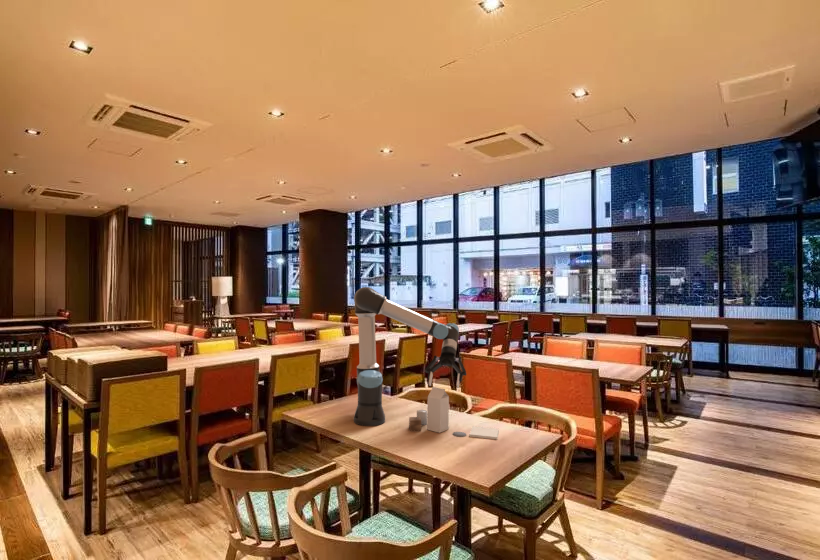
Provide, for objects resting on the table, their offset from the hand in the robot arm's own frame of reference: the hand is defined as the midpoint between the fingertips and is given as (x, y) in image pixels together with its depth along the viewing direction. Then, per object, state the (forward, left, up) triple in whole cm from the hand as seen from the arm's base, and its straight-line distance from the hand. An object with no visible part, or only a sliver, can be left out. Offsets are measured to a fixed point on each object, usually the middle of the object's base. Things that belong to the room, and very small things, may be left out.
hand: (443, 385), depth 207 cm
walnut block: (-11, -13, -18) cm, 25 cm away
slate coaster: (+10, -13, -18) cm, 25 cm away
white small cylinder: (-10, -4, -18) cm, 21 cm away
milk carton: (-1, -10, -18) cm, 21 cm away
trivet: (+20, -9, -18) cm, 29 cm away
